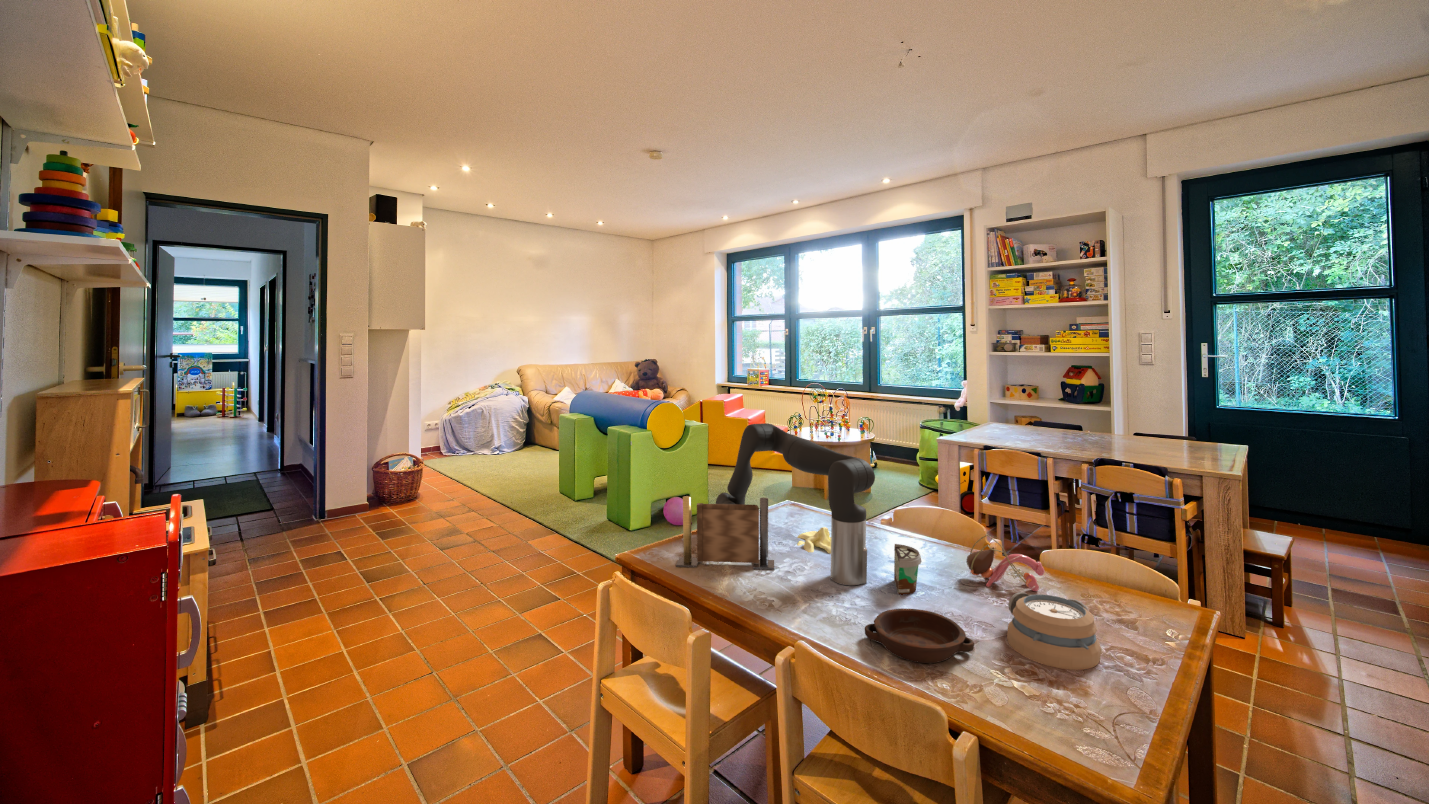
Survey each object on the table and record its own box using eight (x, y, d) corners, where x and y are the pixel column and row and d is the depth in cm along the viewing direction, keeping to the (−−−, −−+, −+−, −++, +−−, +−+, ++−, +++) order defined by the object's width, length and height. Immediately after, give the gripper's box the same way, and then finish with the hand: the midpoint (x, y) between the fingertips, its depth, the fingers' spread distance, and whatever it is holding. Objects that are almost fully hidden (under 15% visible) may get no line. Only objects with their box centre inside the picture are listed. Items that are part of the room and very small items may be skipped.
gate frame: (774, 561, 171) (774, 496, 169) (774, 569, 165) (774, 501, 163) (679, 559, 174) (678, 494, 172) (676, 566, 168) (675, 499, 166)
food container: (924, 599, 145) (925, 561, 144) (898, 597, 146) (899, 559, 145) (917, 580, 157) (918, 544, 156) (893, 578, 158) (894, 543, 157)
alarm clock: (1012, 617, 116) (1003, 574, 138) (1010, 660, 117) (1001, 611, 139) (1112, 632, 110) (1086, 585, 131) (1110, 678, 111) (1084, 624, 132)
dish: (980, 679, 111) (981, 654, 111) (863, 662, 117) (863, 639, 117) (967, 635, 128) (968, 613, 127) (865, 622, 134) (865, 602, 133)
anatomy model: (1057, 585, 144) (1009, 532, 147) (1005, 616, 149) (960, 564, 152) (1049, 569, 155) (1005, 519, 158) (1001, 598, 160) (958, 550, 163)
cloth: (802, 532, 199) (802, 514, 199) (856, 539, 192) (856, 521, 191) (782, 553, 179) (782, 534, 179) (841, 562, 171) (841, 542, 171)
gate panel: (758, 560, 169) (758, 503, 167) (758, 563, 167) (758, 505, 166) (698, 559, 171) (697, 502, 169) (697, 561, 169) (696, 504, 167)
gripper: (706, 507, 191) (700, 523, 174) (746, 507, 190) (744, 524, 172) (707, 529, 192) (700, 547, 174) (746, 530, 190) (744, 548, 173)
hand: (722, 535), depth 173 cm, fingers closed
